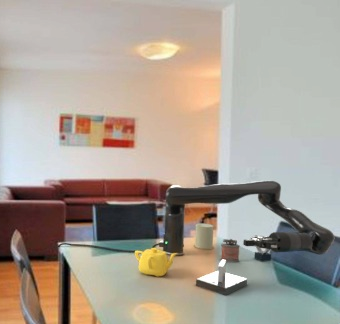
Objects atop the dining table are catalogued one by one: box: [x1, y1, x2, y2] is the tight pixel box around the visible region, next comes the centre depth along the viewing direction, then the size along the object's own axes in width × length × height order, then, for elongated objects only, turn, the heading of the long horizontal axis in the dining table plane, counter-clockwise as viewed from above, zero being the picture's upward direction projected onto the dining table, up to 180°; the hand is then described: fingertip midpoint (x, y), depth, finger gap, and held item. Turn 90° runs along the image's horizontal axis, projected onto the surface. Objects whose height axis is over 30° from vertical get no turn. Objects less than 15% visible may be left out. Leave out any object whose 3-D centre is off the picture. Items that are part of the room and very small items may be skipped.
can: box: [194, 223, 215, 250], centre depth 202 cm, size 9×9×12 cm
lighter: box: [220, 238, 240, 263], centre depth 178 cm, size 8×3×10 cm, turn 84°
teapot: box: [134, 247, 178, 278], centre depth 158 cm, size 14×13×10 cm
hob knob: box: [217, 260, 227, 282], centre depth 145 cm, size 8×2×6 cm, turn 153°
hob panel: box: [195, 270, 248, 296], centre depth 145 cm, size 16×13×3 cm
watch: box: [254, 235, 272, 262], centre depth 182 cm, size 6×8×11 cm
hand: (244, 242), depth 145 cm, fingers closed
